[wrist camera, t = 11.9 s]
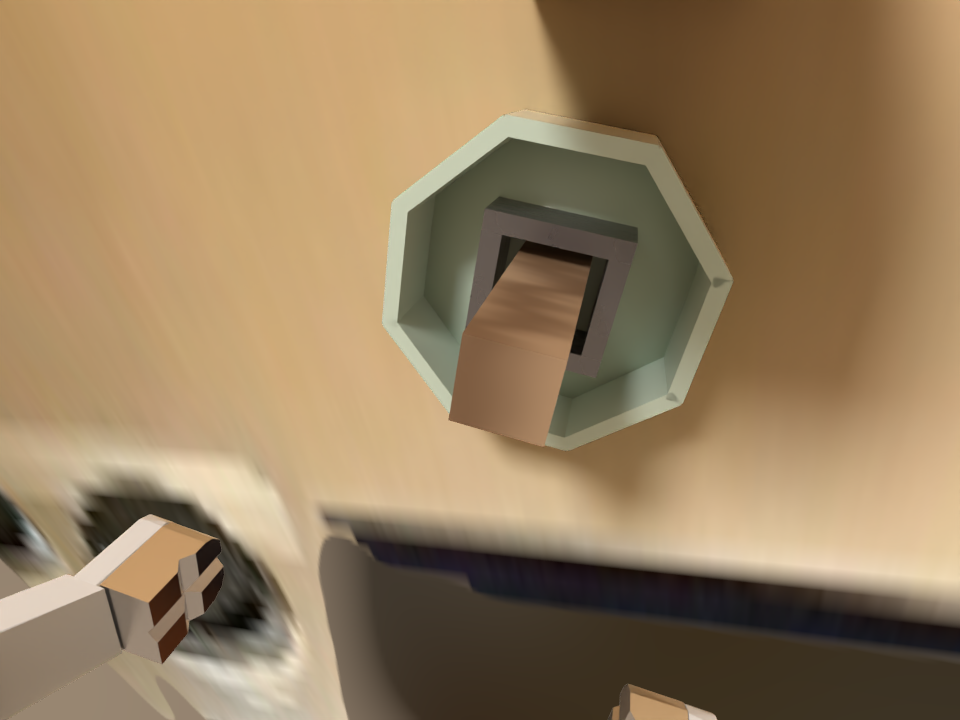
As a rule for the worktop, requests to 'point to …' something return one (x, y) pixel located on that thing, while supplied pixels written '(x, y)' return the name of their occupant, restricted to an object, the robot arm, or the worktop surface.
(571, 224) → the square frame
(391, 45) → the worktop surface
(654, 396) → the octagonal green tray
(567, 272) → the wooden rectangular beam
